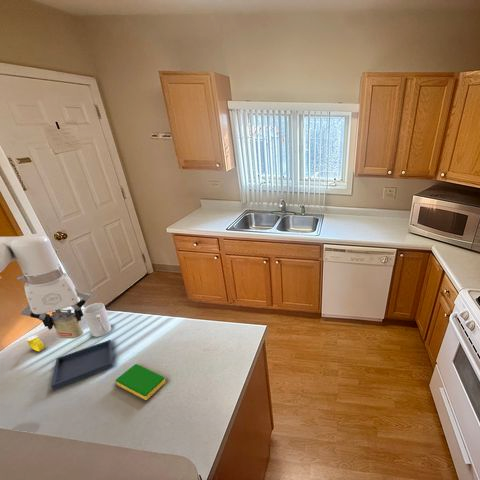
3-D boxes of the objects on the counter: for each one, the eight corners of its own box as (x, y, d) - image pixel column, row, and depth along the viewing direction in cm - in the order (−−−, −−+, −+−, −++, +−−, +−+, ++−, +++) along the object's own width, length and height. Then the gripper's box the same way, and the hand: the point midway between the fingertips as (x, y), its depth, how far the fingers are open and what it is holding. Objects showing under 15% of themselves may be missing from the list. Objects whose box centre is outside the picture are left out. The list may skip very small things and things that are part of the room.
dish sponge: (146, 400, 80) (144, 395, 79) (116, 384, 85) (114, 379, 84) (166, 382, 86) (164, 377, 85) (137, 368, 91) (136, 363, 90)
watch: (48, 349, 96) (42, 337, 94) (39, 354, 94) (33, 342, 91) (37, 344, 98) (31, 333, 95) (28, 350, 95) (21, 338, 93)
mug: (89, 331, 105) (79, 308, 100) (109, 323, 110) (101, 300, 105) (96, 344, 99) (86, 320, 94) (117, 334, 104) (109, 311, 99)
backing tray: (53, 390, 82) (51, 385, 81) (58, 362, 91) (56, 358, 90) (112, 366, 91) (111, 362, 90) (111, 343, 100) (110, 339, 99)
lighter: (55, 337, 83) (43, 313, 79) (66, 329, 86) (56, 305, 82) (76, 339, 82) (66, 314, 78) (87, 331, 86) (77, 307, 82)
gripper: (-4, 290, 67) (24, 341, 74) (82, 272, 77) (100, 318, 84) (4, 277, 73) (29, 326, 80) (84, 262, 83) (100, 306, 90)
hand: (65, 322), depth 82 cm, fingers closed on lighter, 6 cm apart
